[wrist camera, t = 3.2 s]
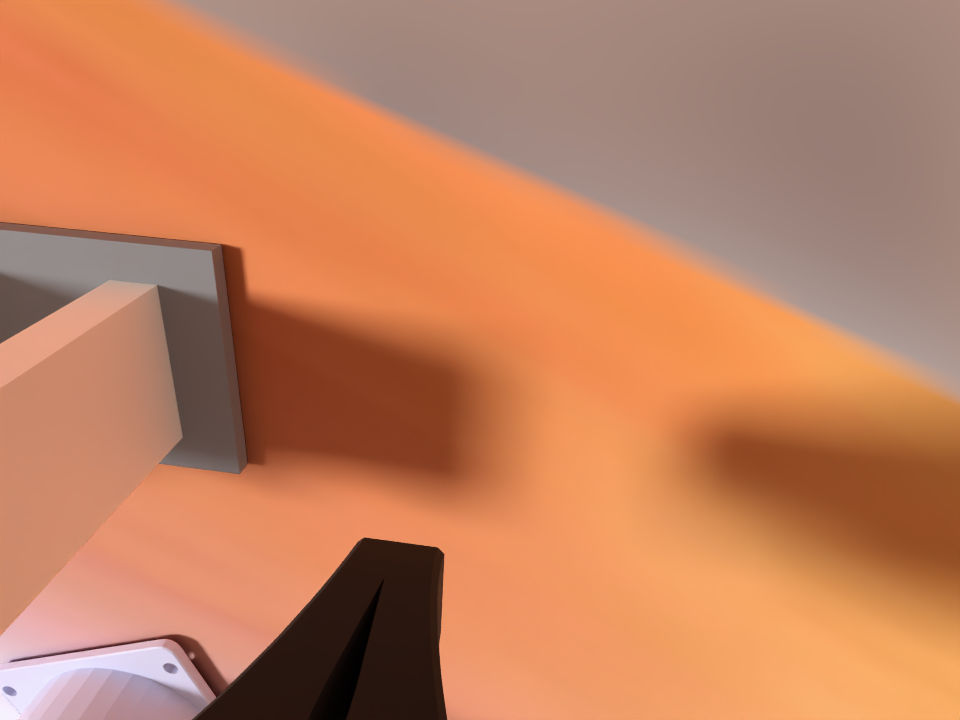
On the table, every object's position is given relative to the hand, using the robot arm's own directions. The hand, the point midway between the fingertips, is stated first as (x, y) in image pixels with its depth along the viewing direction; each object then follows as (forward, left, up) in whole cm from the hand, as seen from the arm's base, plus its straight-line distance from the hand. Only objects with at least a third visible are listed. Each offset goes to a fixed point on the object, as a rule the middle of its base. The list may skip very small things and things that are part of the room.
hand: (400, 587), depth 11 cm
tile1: (+3, +8, -6) cm, 10 cm away
